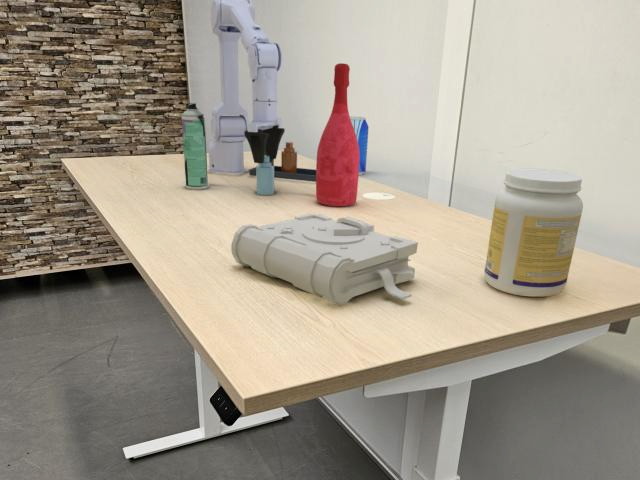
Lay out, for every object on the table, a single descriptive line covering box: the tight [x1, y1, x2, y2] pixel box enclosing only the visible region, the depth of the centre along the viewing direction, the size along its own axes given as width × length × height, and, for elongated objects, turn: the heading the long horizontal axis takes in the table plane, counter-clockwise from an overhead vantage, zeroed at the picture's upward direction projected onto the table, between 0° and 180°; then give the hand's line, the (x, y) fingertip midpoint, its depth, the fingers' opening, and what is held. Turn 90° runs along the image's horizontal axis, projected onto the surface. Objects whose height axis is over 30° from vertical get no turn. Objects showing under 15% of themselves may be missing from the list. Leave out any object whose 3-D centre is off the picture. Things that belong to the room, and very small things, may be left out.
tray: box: [248, 165, 316, 183], centre depth 162 cm, size 21×9×2 cm, turn 72°
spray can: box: [181, 102, 209, 191], centre depth 141 cm, size 6×6×20 cm
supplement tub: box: [483, 167, 584, 298], centre depth 86 cm, size 12×12×17 cm
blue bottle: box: [255, 155, 275, 196], centre depth 141 cm, size 4×4×9 cm
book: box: [230, 212, 419, 307], centre depth 87 cm, size 19×28×8 cm
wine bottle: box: [315, 62, 360, 208], centre depth 129 cm, size 10×10×30 cm
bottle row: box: [257, 141, 298, 174], centre depth 161 cm, size 11×4×9 cm, turn 72°
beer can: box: [349, 115, 369, 176], centre depth 166 cm, size 8×8×16 cm
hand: (265, 160), depth 139 cm, fingers open, 7 cm apart
